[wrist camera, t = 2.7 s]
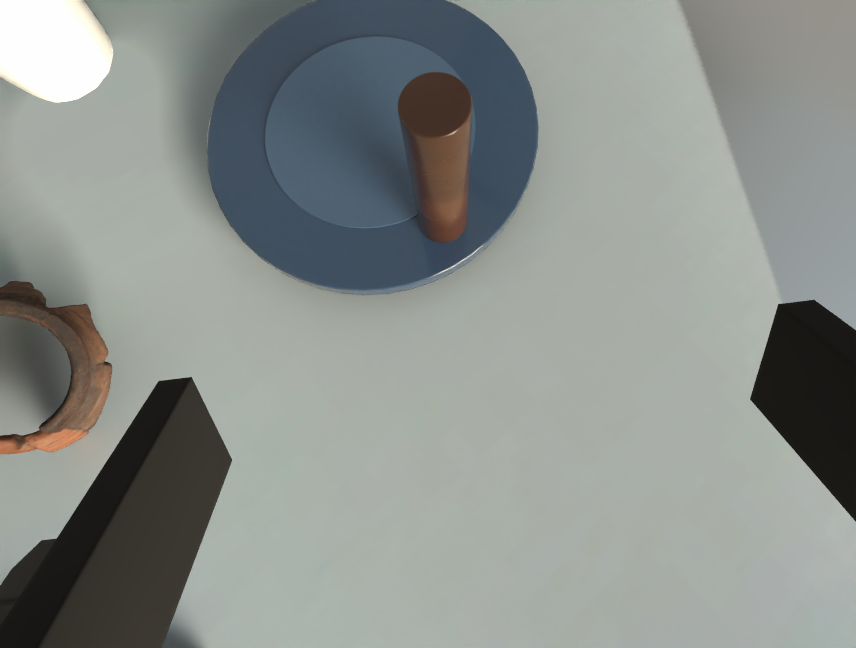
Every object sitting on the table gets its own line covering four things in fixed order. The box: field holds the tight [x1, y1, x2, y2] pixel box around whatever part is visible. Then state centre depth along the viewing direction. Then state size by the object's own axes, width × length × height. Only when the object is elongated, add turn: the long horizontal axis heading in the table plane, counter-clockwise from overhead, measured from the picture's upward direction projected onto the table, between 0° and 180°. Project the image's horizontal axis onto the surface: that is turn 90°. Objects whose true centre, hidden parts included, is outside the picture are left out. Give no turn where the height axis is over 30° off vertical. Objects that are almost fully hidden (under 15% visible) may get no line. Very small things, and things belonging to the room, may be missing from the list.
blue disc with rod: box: [207, 0, 538, 295], centre depth 24 cm, size 19×19×11 cm
